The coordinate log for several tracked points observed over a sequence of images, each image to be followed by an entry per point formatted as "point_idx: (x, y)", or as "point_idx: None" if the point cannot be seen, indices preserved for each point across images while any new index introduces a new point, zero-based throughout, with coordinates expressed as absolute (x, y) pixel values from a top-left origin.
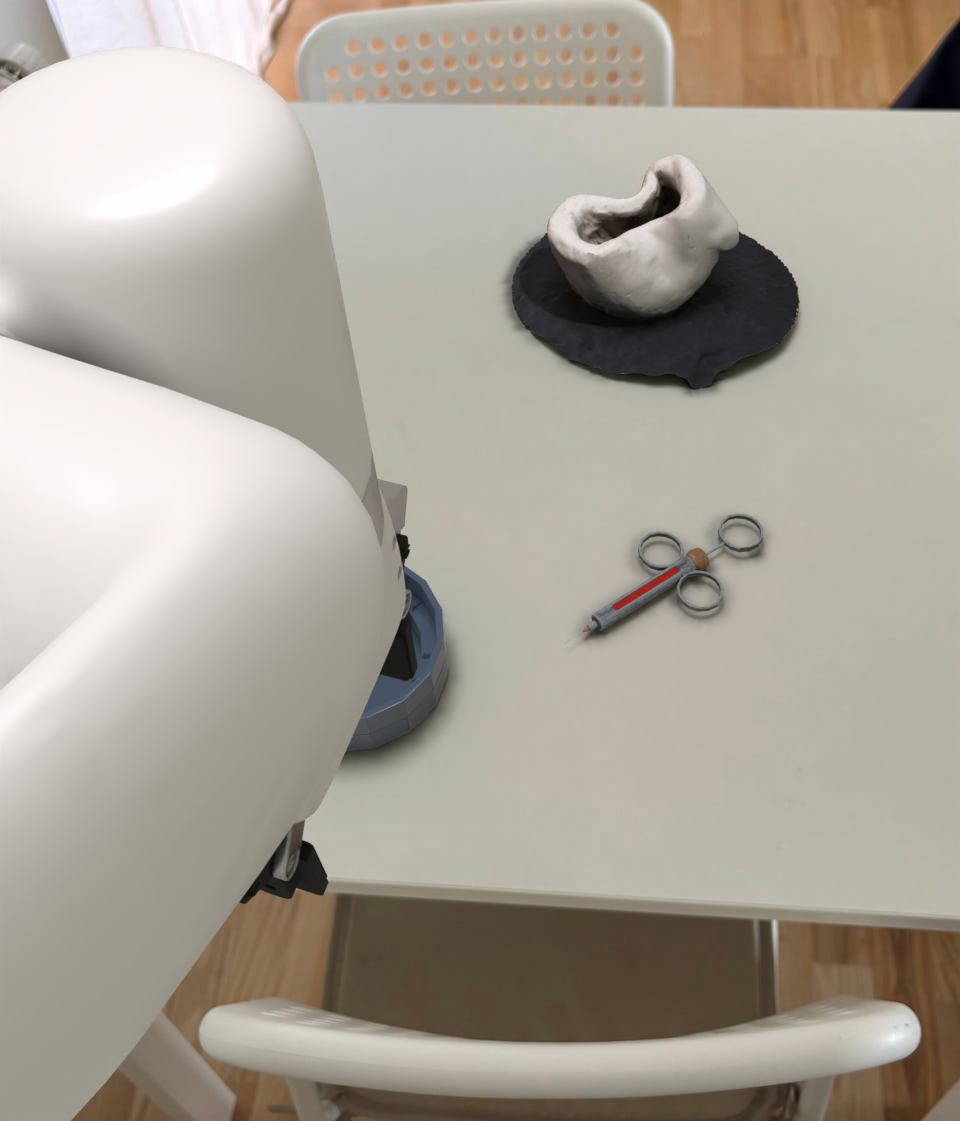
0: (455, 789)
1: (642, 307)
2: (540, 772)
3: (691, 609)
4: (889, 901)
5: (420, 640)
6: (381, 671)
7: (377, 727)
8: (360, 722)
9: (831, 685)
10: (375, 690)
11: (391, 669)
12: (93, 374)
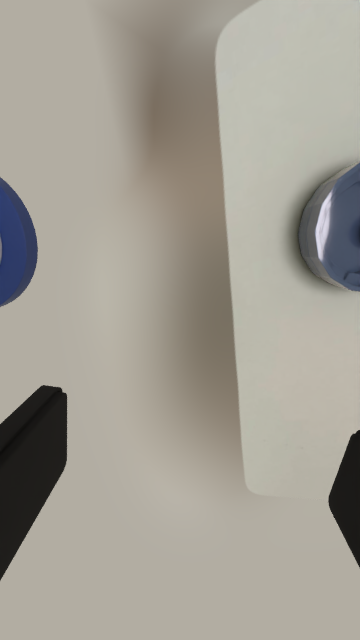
0: (280, 302)
1: None
2: (293, 342)
3: None
4: (246, 476)
5: None
6: (342, 480)
7: (313, 260)
8: (315, 253)
9: None
10: (340, 246)
11: (345, 506)
12: None
